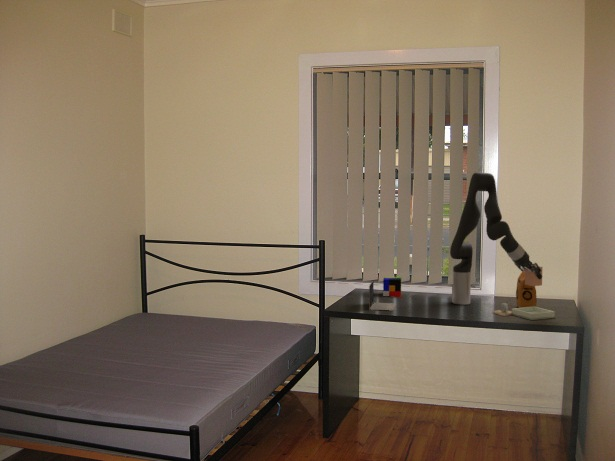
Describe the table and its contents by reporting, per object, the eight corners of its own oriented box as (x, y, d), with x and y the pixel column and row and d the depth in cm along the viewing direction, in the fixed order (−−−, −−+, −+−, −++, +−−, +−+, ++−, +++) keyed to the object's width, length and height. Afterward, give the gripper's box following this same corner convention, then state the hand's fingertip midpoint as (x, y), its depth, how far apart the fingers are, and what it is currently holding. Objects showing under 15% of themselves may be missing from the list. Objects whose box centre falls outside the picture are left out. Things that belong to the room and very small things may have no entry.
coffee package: (516, 310, 324) (517, 267, 323) (515, 305, 336) (516, 264, 335) (537, 311, 322) (538, 268, 320) (535, 306, 334) (536, 265, 332)
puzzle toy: (383, 296, 364) (383, 279, 364) (384, 293, 374) (384, 276, 373) (400, 297, 363) (400, 279, 362) (401, 294, 373) (401, 277, 372)
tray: (511, 314, 314) (511, 308, 314) (533, 312, 320) (534, 306, 319) (531, 320, 301) (531, 314, 301) (554, 317, 307) (554, 311, 307)
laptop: (393, 311, 324) (393, 286, 323) (368, 310, 327) (369, 285, 326) (395, 304, 342) (396, 280, 341) (372, 304, 344) (372, 280, 343)
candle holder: (492, 312, 318) (492, 303, 318) (505, 311, 322) (505, 301, 321) (503, 316, 311) (503, 305, 311) (516, 314, 314) (516, 304, 314)
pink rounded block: (524, 284, 311) (525, 266, 310) (536, 283, 313) (536, 265, 313) (532, 286, 306) (533, 267, 305) (544, 285, 308) (544, 266, 308)
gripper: (532, 249, 298) (551, 273, 304) (511, 246, 312) (530, 269, 317) (523, 261, 297) (542, 285, 302) (502, 258, 310) (521, 280, 315)
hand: (536, 277), depth 310 cm, fingers closed on pink rounded block, 5 cm apart
